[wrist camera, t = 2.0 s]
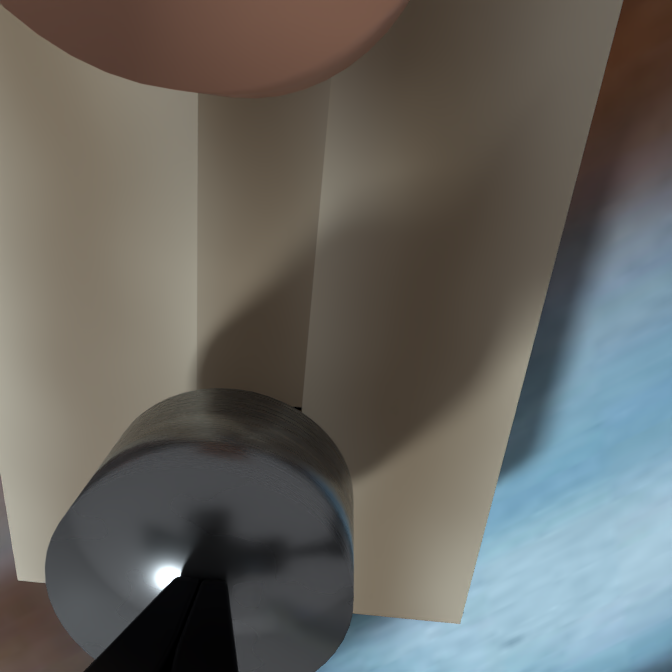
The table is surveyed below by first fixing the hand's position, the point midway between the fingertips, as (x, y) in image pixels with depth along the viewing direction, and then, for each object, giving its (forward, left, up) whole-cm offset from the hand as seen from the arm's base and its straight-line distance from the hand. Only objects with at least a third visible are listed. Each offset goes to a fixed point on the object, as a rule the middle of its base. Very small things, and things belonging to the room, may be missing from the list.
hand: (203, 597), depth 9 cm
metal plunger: (0, 0, -6) cm, 6 cm away
